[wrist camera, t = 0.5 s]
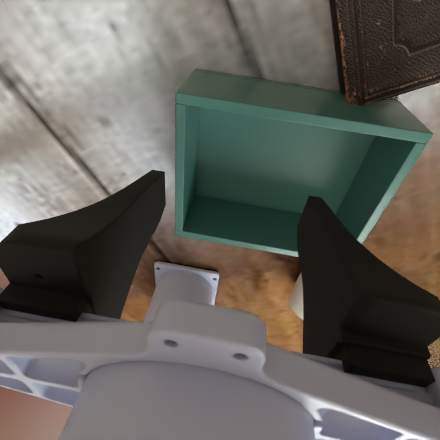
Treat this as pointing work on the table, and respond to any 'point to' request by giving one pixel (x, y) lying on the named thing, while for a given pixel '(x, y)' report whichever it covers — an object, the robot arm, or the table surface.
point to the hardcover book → (385, 47)
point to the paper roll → (297, 298)
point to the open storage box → (283, 159)
